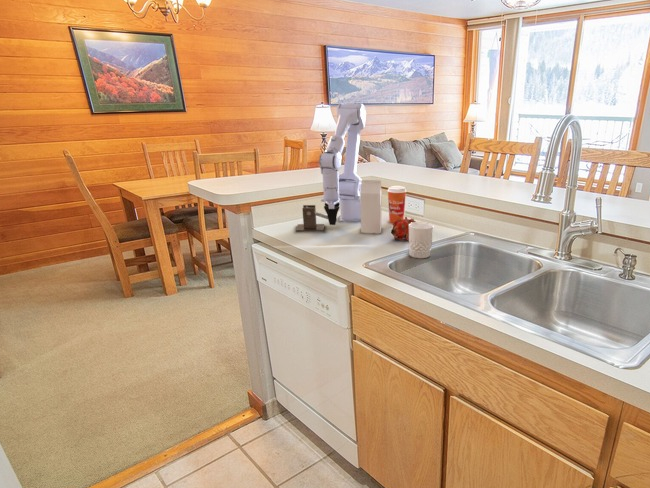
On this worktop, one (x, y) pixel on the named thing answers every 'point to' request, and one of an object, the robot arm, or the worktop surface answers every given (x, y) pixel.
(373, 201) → the milk carton
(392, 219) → the paper cup
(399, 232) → the dragon fruit
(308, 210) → the faucet bracket
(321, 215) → the faucet lever
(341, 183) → the robot arm
